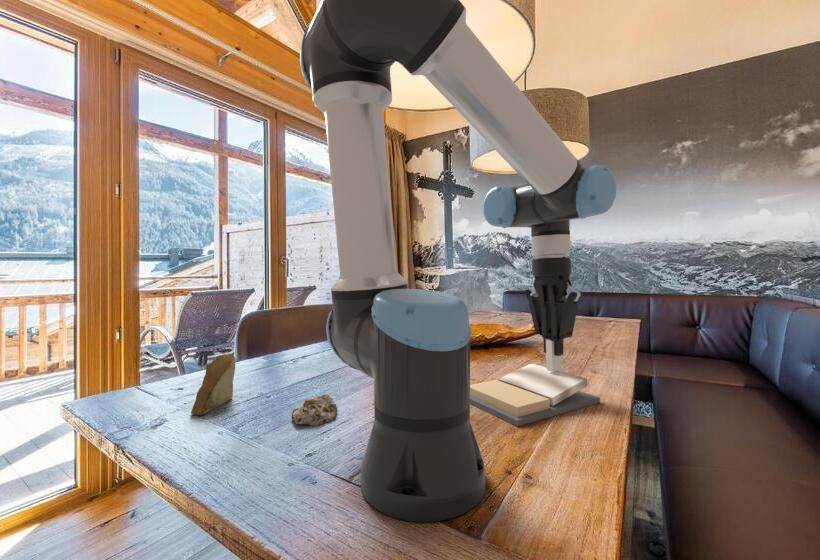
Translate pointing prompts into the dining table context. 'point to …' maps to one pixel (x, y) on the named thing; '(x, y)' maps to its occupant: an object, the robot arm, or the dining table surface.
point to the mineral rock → (315, 411)
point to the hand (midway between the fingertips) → (553, 369)
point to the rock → (215, 385)
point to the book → (545, 382)
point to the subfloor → (522, 402)
